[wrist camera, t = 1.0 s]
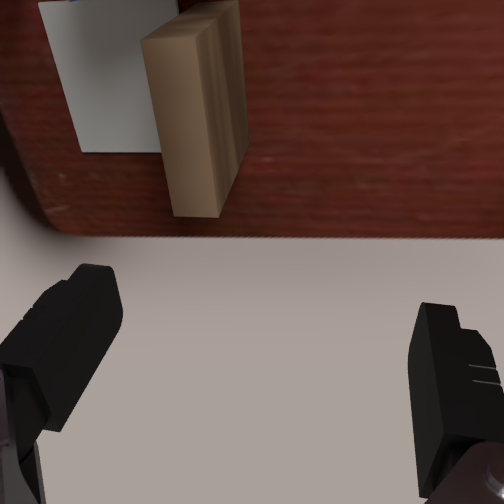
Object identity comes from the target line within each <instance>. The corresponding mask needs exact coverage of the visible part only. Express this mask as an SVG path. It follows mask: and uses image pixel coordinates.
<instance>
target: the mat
mask: <svg viewBox="0 0 504 504" xmlns="http://www.w3.org/2000/svg"><path fill="white" fill-rule="evenodd" d="M38 6H39V9H40V12H41V16H42V19H43V22H44V26H45V29H46V33H47V36H48V39H49V43H50V46H51V49H52V53H53V56H54V60H55V63H56V66H57V70H58V73H59V76H60V80H61V83H62V86H63V90H64V93H65V97H66V100H67V103H68V107H69V110H70V113H71V117H72V120H73V124H74V127H75V130H76V134H77V137H78V140H79V144H80V147H81V150H82V152H161V147H160V142H159V137H158V131H157V126H156V121H155V116H154V111H153V106H152V100H151V95H150V90H149V85H148V80H147V75H146V69H145V64H144V59H143V54H142V49H141V44H140V39H142V38H143V37H145V36H147V35H148V34H150V33H151V32H153V31H154V30H156V29H157V28H159V27H161V26H162V25H164V24H165V23H167V22H168V21H170V20H171V19H173V18H175V17H176V16H178V15H179V7H178V0H78V1H73V2H68V1H53V2H40V3H38Z"/></svg>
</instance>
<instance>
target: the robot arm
mask: <svg viewBox="0 0 504 504" xmlns="http://www.w3.org/2000/svg"><path fill="white" fill-rule="evenodd" d="M122 318H123V308H122V304H121V300H120V296H119V291H118V287H117V282H116V278H115V274H114V271H113V269H112V268H111V267H110V266H103V265H94V264H85V263H84V264H81V265H79V267H78V268H77V269H76V270H75V271H74V273H73V274H72V275H71V276H70V278H69V279H68V280H61V281H59V282H58V283H56V284H55V285H53V286H52V287H50V288H49V289H47V290H46V291H44V293H43V294H42V295H41V296H40V297H39V299H38V300H37V301H36V302H35V303H34V304H33V308H30V309H29V310H28V312H27V313H26V314H25V315H24V317H23V320H20V321H19V322H18V324H17V325H16V326H15V327H14V329H13V330H12V331H11V332H10V333H9V335H8V336H7V337H6V338H5V339H4V341H3V342H2V343H1V344H0V504H46V500H45V493H44V485H43V479H42V471H41V464H40V457H39V450H38V445H37V442H36V439H37V438H38V436H39V434H40V433H41V431H42V430H43V429H44V430H49V431H55V432H60V431H61V430H62V428H63V426H64V425H65V423H66V421H67V419H68V418H69V416H70V414H71V412H72V411H73V409H74V407H75V406H76V404H77V402H78V400H79V399H80V397H81V395H82V393H83V392H84V390H85V388H86V387H87V385H88V383H89V381H90V380H91V378H92V376H93V374H94V373H95V371H96V369H97V368H98V366H99V364H100V362H101V361H102V359H103V357H104V355H105V354H106V352H107V350H108V349H109V347H110V345H111V343H112V342H113V340H114V338H115V336H116V335H117V333H118V331H119V329H120V327H121V323H122ZM408 378H409V389H410V400H411V411H412V421H413V433H414V443H415V453H416V454H415V455H416V465H417V476H418V487H419V497H421V498H426V499H428V500H427V501H426V502H425V503H424V504H504V393H503V389H502V387H501V386H500V383H501V382H500V378H499V375H498V371H497V370H496V364H495V361H494V357H493V354H492V350H491V347H490V346H489V345H488V344H487V342H486V341H485V340H484V339H483V337H482V336H481V335H480V334H479V332H478V331H477V330H470V329H462V328H461V327H460V322H459V319H458V314H457V310H456V308H455V306H451V305H442V304H433V303H424V302H422V303H421V305H420V308H419V312H418V316H417V319H416V323H415V327H414V331H413V335H412V339H411V342H410V347H409V353H408Z"/></svg>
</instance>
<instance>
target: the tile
mask: <svg viewBox="0 0 504 504" xmlns="http://www.w3.org/2000/svg"><path fill="white" fill-rule="evenodd" d="M140 44H141V49H142V54H143V59H144V64H145V69H146V75H147V80H148V85H149V90H150V95H151V100H152V106H153V111H154V116H155V121H156V126H157V131H158V137H159V142H160V147H161V152H162V157H163V162H164V168H165V173H166V178H167V183H168V188H169V193H170V199H171V204H172V209H173V214H174V216H177V217H214V218H219V215H220V213H221V210H222V208H223V206H224V203H225V201H226V198H227V196H228V194H229V191H230V189H231V186H232V184H233V182H234V179H235V177H236V175H237V172H238V170H239V167H240V165H241V163H242V160H243V158H244V155H245V153H246V151H247V148H248V146H249V144H250V142H249V129H248V116H247V103H246V90H245V77H244V65H243V52H242V39H241V26H240V13H239V0H233V1H215V2H198V3H196V4H195V5H193V6H192V7H190V8H189V9H187V10H185V11H184V12H182V13H181V14H179V15H178V16H176V17H175V18H173V19H171V20H170V21H168V22H167V23H165V24H164V25H162V26H161V27H159V28H157V29H156V30H154V31H153V32H151V33H150V34H148V35H147V36H145V37H143V38H142V39H140Z"/></svg>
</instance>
